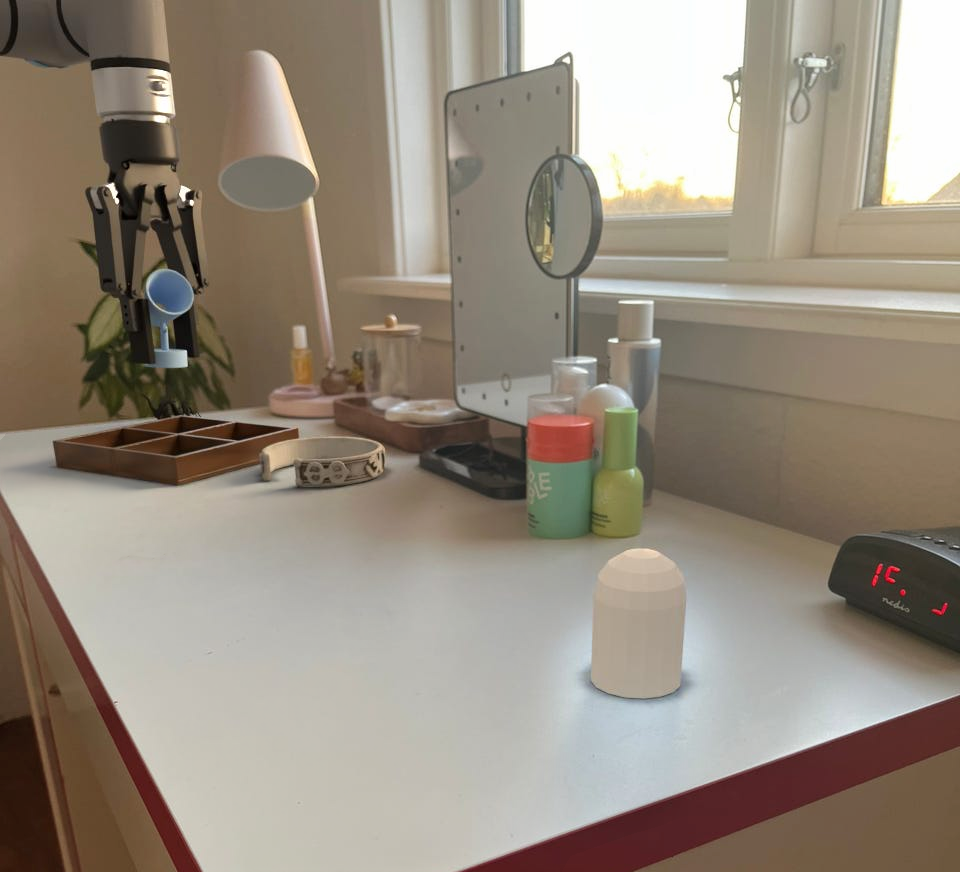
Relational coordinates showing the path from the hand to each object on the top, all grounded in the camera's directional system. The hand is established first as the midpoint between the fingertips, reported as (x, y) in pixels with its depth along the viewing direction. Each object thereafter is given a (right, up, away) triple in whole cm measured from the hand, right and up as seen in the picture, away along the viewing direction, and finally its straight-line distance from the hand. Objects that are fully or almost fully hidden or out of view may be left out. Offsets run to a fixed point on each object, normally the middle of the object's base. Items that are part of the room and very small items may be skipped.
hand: (166, 359), depth 111 cm
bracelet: (+17, -12, +3) cm, 21 cm away
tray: (-1, -9, +11) cm, 14 cm away
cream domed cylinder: (+43, -33, -50) cm, 74 cm away
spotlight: (0, -1, 0) cm, 1 cm away
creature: (-8, -1, +32) cm, 33 cm away
